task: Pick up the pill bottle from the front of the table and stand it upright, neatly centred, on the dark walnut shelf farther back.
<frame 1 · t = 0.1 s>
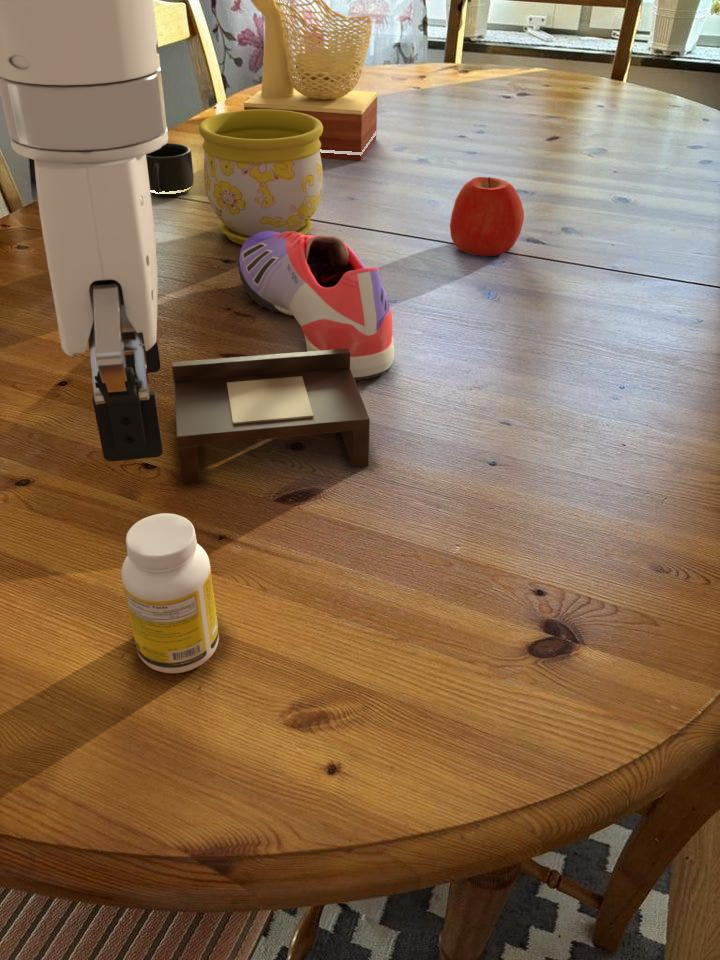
hand: (135, 411, 52), 21 cm above the table, tool pointing down, fingers open, 9 cm apart
shelf: (270, 444, 87), on the table
basket: (309, 145, 176), on the table
coral sneaker: (309, 323, 110), on the table
apple: (482, 249, 132), on the table
pill bottle: (178, 647, 65), on the table
mug: (167, 196, 149), on the table
flowerpot: (266, 234, 135), on the table
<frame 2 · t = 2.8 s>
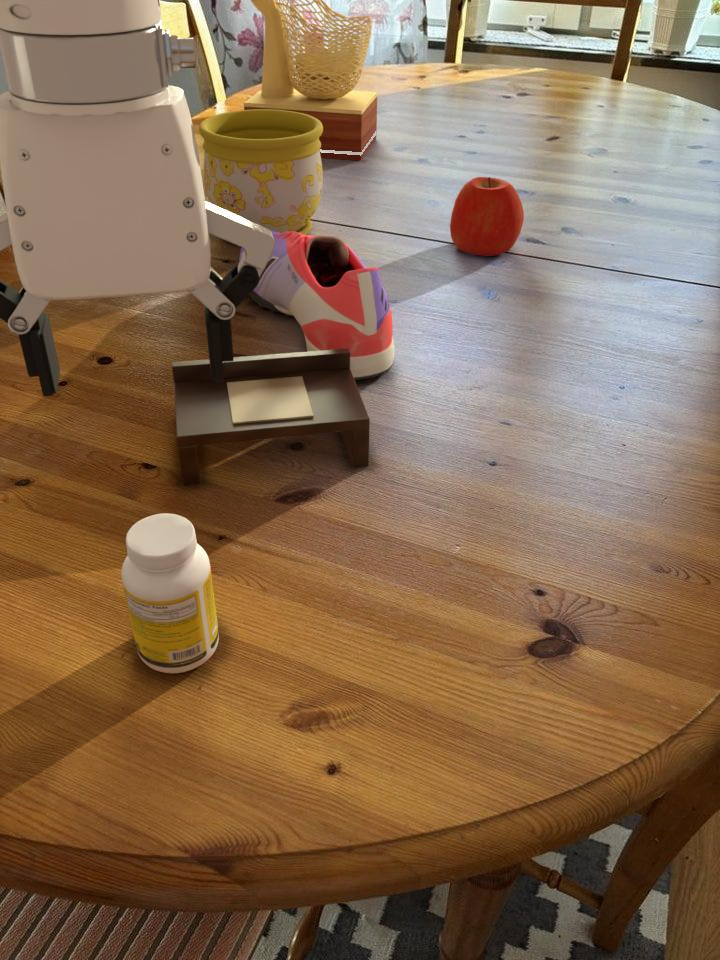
hand: (135, 377, 51), 23 cm above the table, tool pointing down, fingers open, 9 cm apart
nothing on the table moved.
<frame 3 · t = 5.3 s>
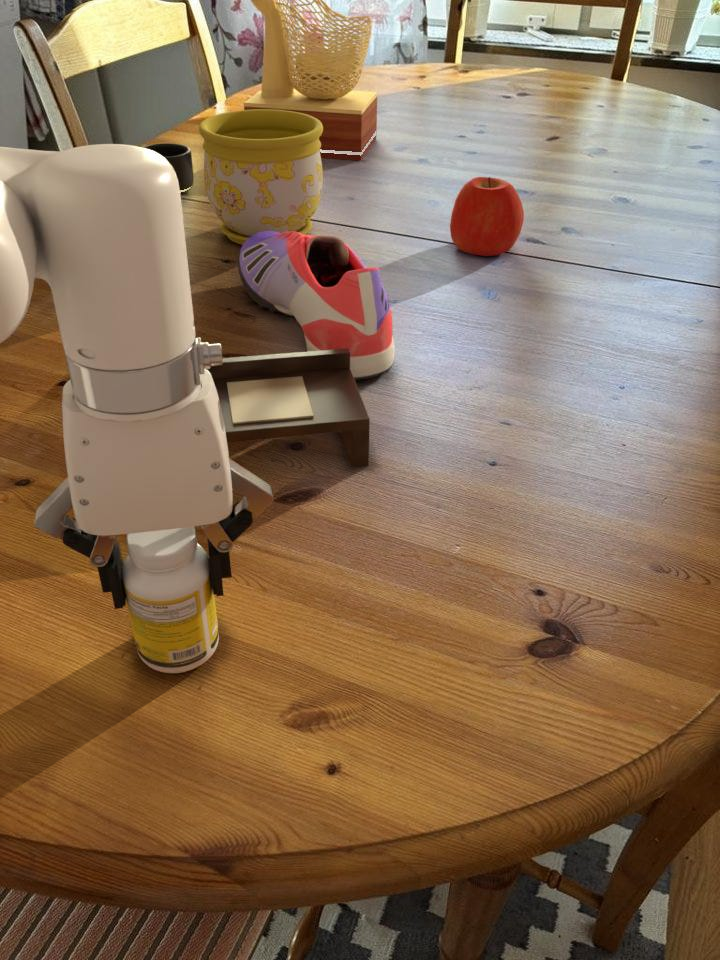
hand: (169, 587, 62), 6 cm above the table, tool pointing down, fingers closed on pill bottle, 6 cm apart
pill bottle: (178, 647, 65), on the table, touching gripper
everything else where it was.
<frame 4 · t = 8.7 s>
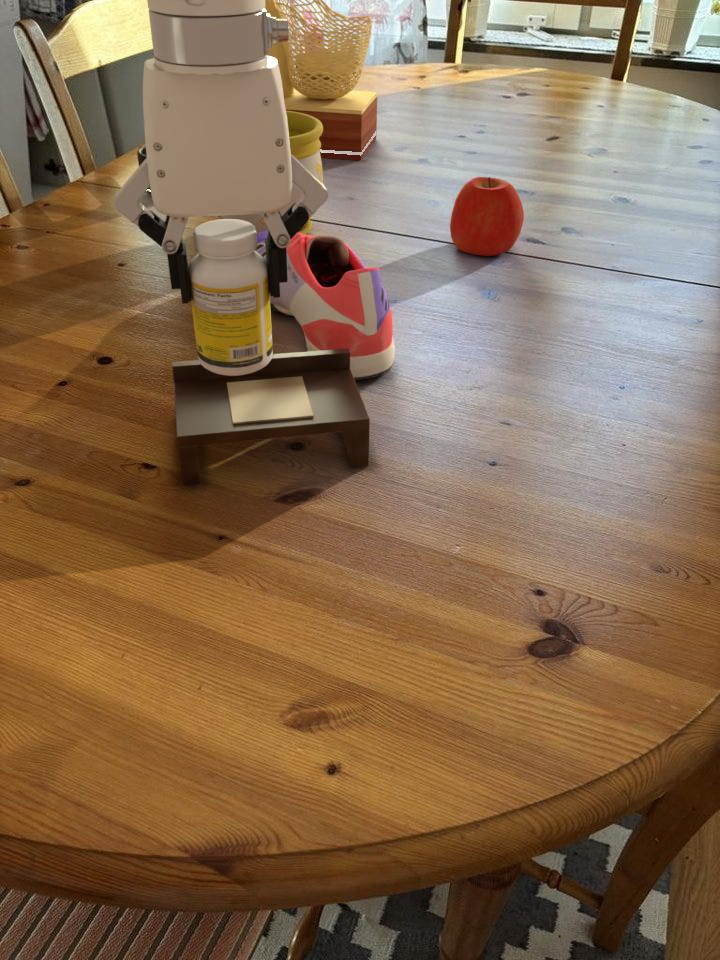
hand: (230, 291, 67), 21 cm above the table, tool pointing down, fingers closed on pill bottle, 6 cm apart
pill bottle: (235, 361, 71), point 15 cm above the table, touching gripper
everything else where it was.
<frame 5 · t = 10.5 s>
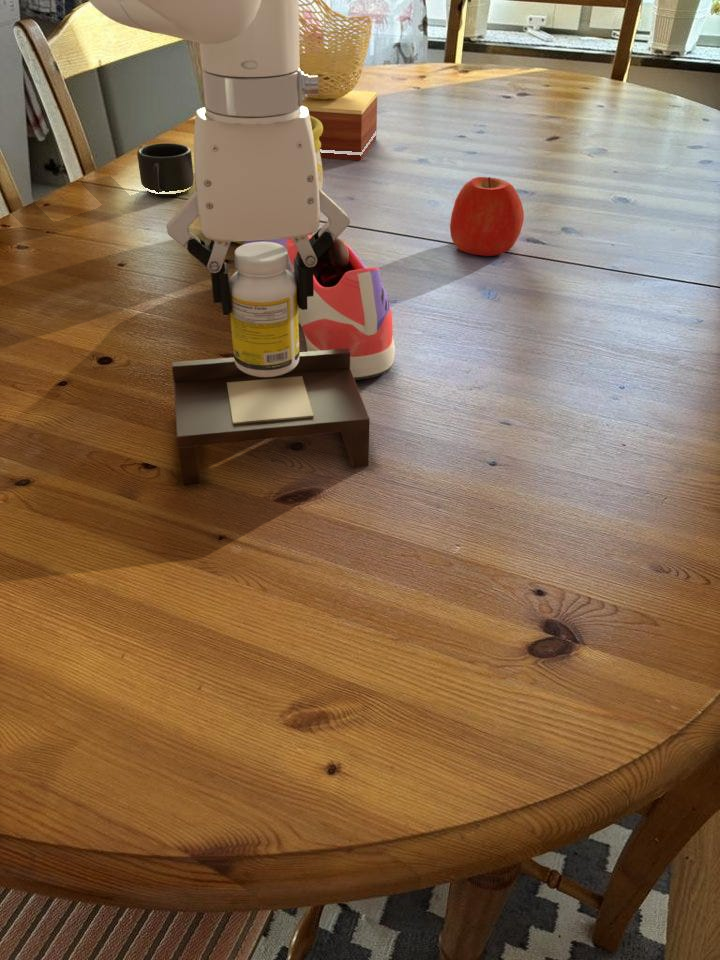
hand: (263, 304, 78), 16 cm above the table, tool pointing down, fingers closed on pill bottle, 6 cm apart
pill bottle: (266, 365, 81), point 9 cm above the table, touching gripper
everything else where it was.
when the fingers open (12 cm above the table, at t = 11.9 s): pill bottle stays where it is, resting on shelf.
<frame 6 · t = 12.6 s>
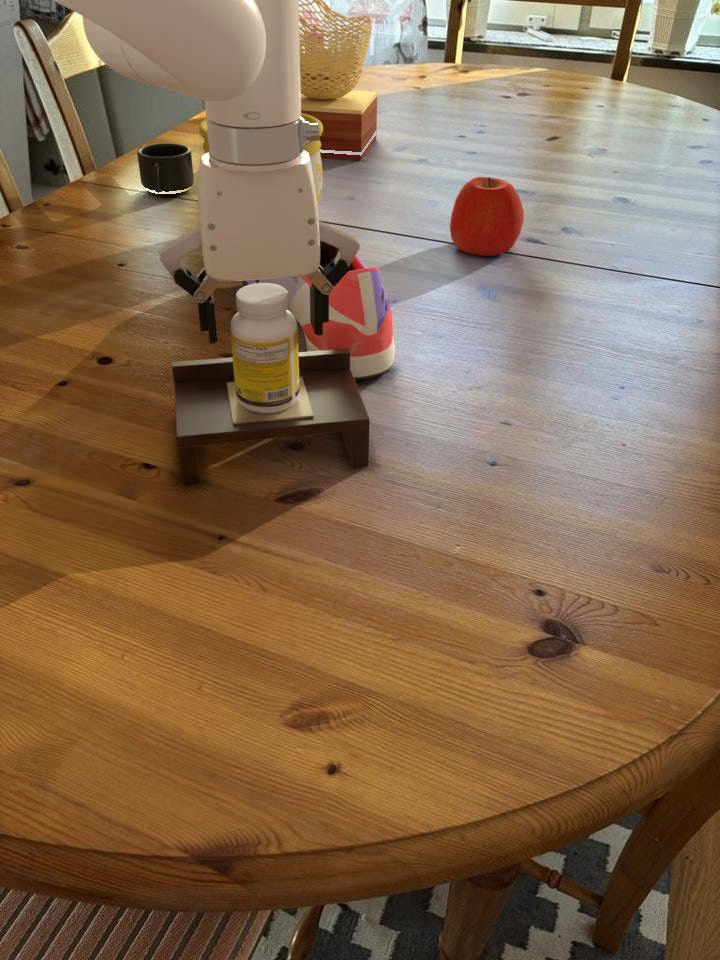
hand: (265, 332, 79), 13 cm above the table, tool pointing down, fingers open, 9 cm apart
pill bottle: (268, 400, 84), point 6 cm above the table, touching shelf
everything else where it was.
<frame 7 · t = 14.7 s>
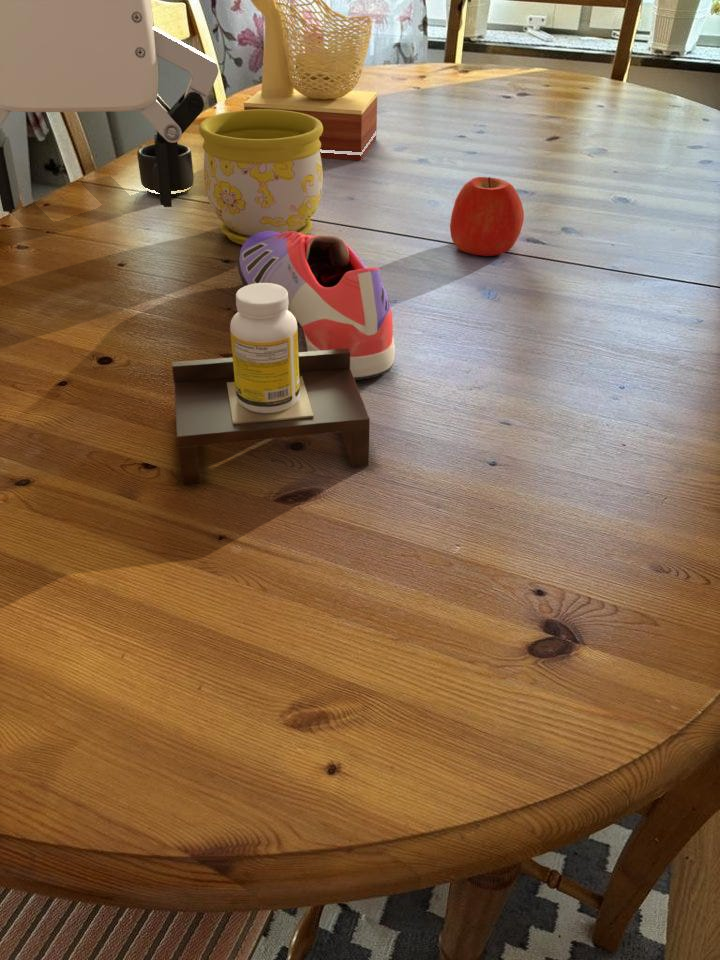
hand: (90, 202, 56), 30 cm above the table, tool pointing down, fingers open, 9 cm apart
nothing on the table moved.
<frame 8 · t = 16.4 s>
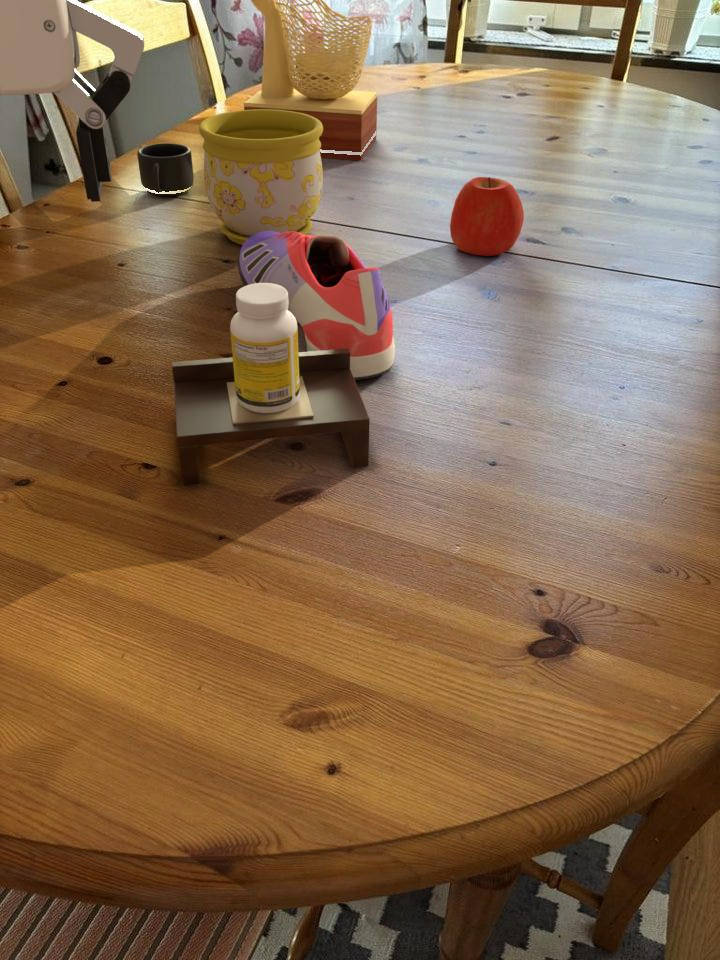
hand: (10, 198, 50), 32 cm above the table, tool pointing down, fingers open, 9 cm apart
nothing on the table moved.
at the end: pill bottle inside the target area on the shelf (0.4 cm from its centre), point 5.5 cm above the shelf's base; pill bottle tilted 0°; the gripper is holding nothing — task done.
